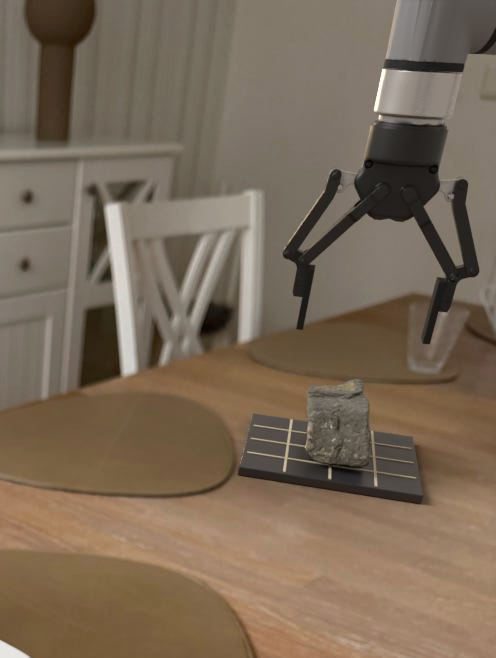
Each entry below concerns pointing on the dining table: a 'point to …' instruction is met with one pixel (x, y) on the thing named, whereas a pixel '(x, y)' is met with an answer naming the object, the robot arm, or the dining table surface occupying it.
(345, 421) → the rock
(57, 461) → the dining table surface
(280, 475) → the board
